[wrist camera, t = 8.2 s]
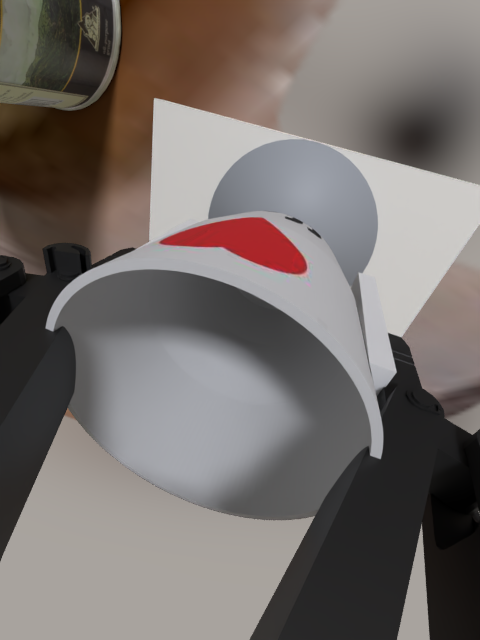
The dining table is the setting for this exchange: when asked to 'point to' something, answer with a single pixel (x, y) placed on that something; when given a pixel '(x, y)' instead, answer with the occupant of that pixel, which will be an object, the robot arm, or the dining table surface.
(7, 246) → the dining table surface
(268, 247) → the cup
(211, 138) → the board
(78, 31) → the coffee can
